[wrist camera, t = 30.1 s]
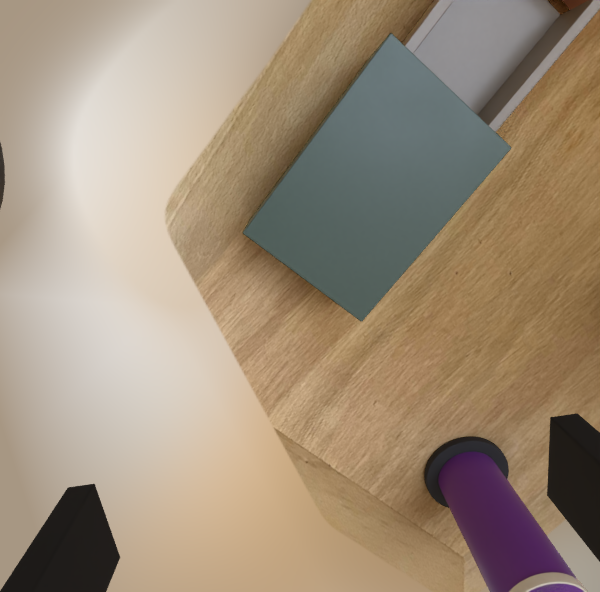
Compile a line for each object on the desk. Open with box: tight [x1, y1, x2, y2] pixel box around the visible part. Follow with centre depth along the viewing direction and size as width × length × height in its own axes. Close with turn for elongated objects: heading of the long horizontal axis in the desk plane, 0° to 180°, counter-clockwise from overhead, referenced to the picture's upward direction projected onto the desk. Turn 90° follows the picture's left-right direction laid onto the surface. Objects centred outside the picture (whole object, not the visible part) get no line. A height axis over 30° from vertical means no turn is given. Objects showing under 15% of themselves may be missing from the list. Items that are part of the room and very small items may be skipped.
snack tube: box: [438, 452, 587, 592], centre depth 40 cm, size 7×7×15 cm
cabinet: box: [243, 33, 511, 321], centre depth 35 cm, size 17×12×7 cm
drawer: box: [402, 0, 600, 132], centre depth 31 cm, size 20×10×5 cm, turn 142°
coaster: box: [425, 437, 508, 508], centre depth 47 cm, size 9×9×1 cm
